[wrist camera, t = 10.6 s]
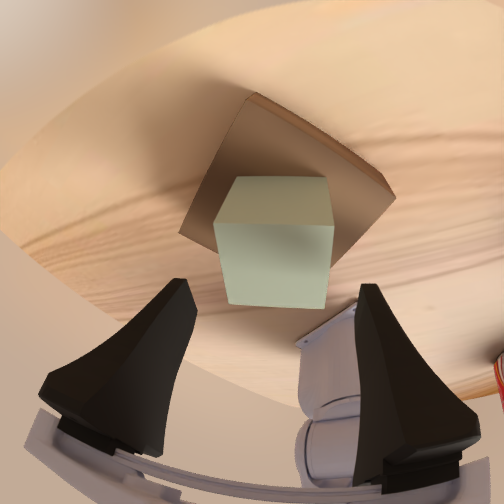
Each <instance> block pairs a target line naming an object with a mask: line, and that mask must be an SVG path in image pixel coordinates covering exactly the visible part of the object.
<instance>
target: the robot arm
mask: <svg viewBox="0 0 504 504" xmlns="http://www.w3.org/2000/svg"><path fill="white" fill-rule="evenodd" d="M354 308H356V309H354ZM197 311H198V310H197V308H196V305H195V302H194V299H193V296H192V293H191V291H190V288H189V285H188V282H187V279H180V278H174V279H172V280H171V281H170V282H169V283H168V284H167V285H166V286H165V287H164V288H163V289H162V290H161V291H160V292H159V293H158V294H157V295H156V296H155V297H154V298H153V299H152V300H151V301H150V302H149V303H148V304H147V305H146V306H145V307H144V308H143V309H142V310H141V311H140V312H139V313H138V314H137V315H136V316H135V317H134V318H133V319H131V320H130V321H129V322H128V323H127V324H126V325H125V326H124V327H123V328H121V329H120V330H119V331H118V332H117V333H115V334H114V335H113V336H112V337H110V338H109V339H108V340H106V341H105V342H104V343H102V344H101V345H99V346H98V347H96V348H95V349H93V350H92V351H90V352H89V353H87V354H85V355H84V356H82V357H80V358H79V359H77V360H75V361H73V362H71V363H69V364H67V365H65V366H63V367H61V368H59V369H56V370H54V371H52V372H50V373H49V374H48V375H47V378H46V379H45V381H44V383H43V385H42V387H41V389H40V391H39V393H38V395H39V397H40V398H41V399H42V400H43V401H44V402H46V403H47V404H48V405H49V406H51V407H52V408H53V409H55V410H56V411H57V412H59V413H60V414H61V415H62V417H61V419H59V418H57V417H55V416H54V415H52V414H50V413H49V412H47V411H45V410H44V409H42V408H40V410H39V412H38V414H37V416H36V419H35V421H34V423H33V425H32V428H31V430H30V432H29V435H28V437H27V440H26V442H25V445H24V448H25V449H26V450H27V451H29V452H30V453H31V454H32V455H34V456H35V457H36V458H37V459H39V460H40V461H41V462H42V463H44V464H45V465H46V466H47V467H49V468H50V469H51V470H52V471H54V472H55V473H56V474H57V475H58V476H60V477H61V478H62V479H64V480H65V481H66V482H67V483H69V484H70V485H71V486H73V487H74V488H75V489H77V490H78V491H80V492H81V493H83V494H84V495H85V496H87V497H88V498H90V499H91V500H93V501H94V502H96V503H98V504H195V503H191V502H187V501H184V500H180V496H181V493H182V492H181V491H180V490H177V489H174V488H170V487H167V486H164V485H161V484H158V483H155V482H152V481H149V480H147V479H145V477H144V474H143V473H145V474H148V475H151V476H154V477H156V478H160V479H163V480H166V481H169V482H172V483H176V484H179V485H183V486H187V487H190V488H194V489H199V490H203V491H207V492H212V493H217V494H222V495H228V496H233V497H239V498H246V499H253V500H262V501H271V502H283V503H305V504H490V465H489V457H485V458H482V459H479V460H477V461H473V462H470V463H468V464H465V465H462V466H459V460H461V459H462V451H463V450H465V449H466V448H468V447H470V446H472V445H473V444H475V443H476V442H477V441H479V440H480V438H481V432H480V424H479V420H478V416H477V414H476V413H475V412H474V411H473V410H471V409H470V408H469V407H468V406H467V405H466V404H464V403H463V402H462V401H461V400H460V399H459V398H458V397H457V396H456V395H455V394H454V393H453V392H452V391H451V390H450V389H449V388H448V387H447V386H446V385H445V384H444V383H443V382H442V380H441V379H440V378H439V377H438V376H437V375H436V374H435V373H434V372H433V370H432V369H431V368H430V367H429V365H428V364H427V363H426V362H425V360H424V359H423V358H422V356H421V355H420V354H419V352H418V351H417V350H416V348H415V347H414V345H413V344H412V342H411V341H410V339H409V338H408V337H407V335H406V333H405V332H404V330H403V329H402V327H401V326H400V324H399V322H398V321H397V319H396V317H395V316H394V314H393V312H392V311H391V309H390V307H389V305H388V304H387V302H386V300H385V298H384V296H383V295H382V293H381V291H380V289H379V287H378V285H377V284H361V287H360V292H359V297H358V301H357V302H355V303H354V304H352V305H351V306H349V307H348V308H347V309H345V310H344V311H342V312H341V313H339V314H338V315H336V316H335V317H333V318H332V319H330V320H329V321H327V322H326V323H324V324H323V325H321V326H320V327H318V328H317V329H315V330H314V331H312V332H311V333H309V334H307V335H306V336H304V337H303V338H301V339H299V340H298V341H296V346H297V347H298V348H300V349H301V359H300V372H299V384H298V400H299V404H300V406H301V409H302V411H303V412H304V413H305V415H306V416H307V417H308V418H310V419H308V420H307V421H306V422H305V423H304V424H303V426H302V427H301V428H300V430H299V432H298V434H297V438H296V443H295V462H296V467H297V469H298V472H299V474H300V478H301V484H302V488H294V487H278V486H267V485H258V484H250V483H242V482H236V481H230V480H224V479H219V478H214V477H209V476H205V475H200V474H196V473H192V472H188V471H184V470H180V469H176V468H173V467H169V466H166V465H163V464H159V463H156V462H153V461H150V460H147V459H144V458H141V457H138V456H136V455H134V453H138V454H140V455H142V454H146V455H149V456H152V457H155V458H157V457H159V456H161V455H163V447H164V436H165V428H166V421H167V414H168V410H169V405H170V399H171V395H172V391H173V386H174V382H175V379H176V376H177V372H178V370H179V367H180V364H181V362H182V359H183V356H184V354H185V351H186V348H187V346H188V343H189V340H190V338H191V335H192V332H193V329H194V325H195V320H196V316H197Z"/></svg>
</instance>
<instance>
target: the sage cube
mask: <svg viewBox="0 0 504 504" xmlns="http://www.w3.org/2000/svg"><path fill="white" fill-rule="evenodd" d="M213 226H214V231H215V237H216V242H217V247H218V253H219V258H220V263H221V268H222V273H223V278H224V283H225V288H226V293H227V298H228V303H229V304H235V305H249V306H266V307H284V308H307V309H324V308H325V301H326V294H327V287H328V279H329V272H330V264H331V255H332V246H333V236H334V219H333V213H332V207H331V201H330V195H329V189H328V184H327V178H326V177H304V176H238V177H236V179H235V181H234V183H233V185H232V187H231V189H230V191H229V193H228V195H227V197H226V199H225V201H224V203H223V205H222V207H221V209H220V211H219V213H218V215H217V217H216V219H215V221H214V223H213Z"/></svg>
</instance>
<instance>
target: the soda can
mask: <svg viewBox="0 0 504 504" xmlns="http://www.w3.org/2000/svg"><path fill="white" fill-rule="evenodd" d="M494 372H495V377H496V381H497V385H498V389H499V394H500V398H501V402H502V407H503V411H504V352H503V353H502V354H501V355H500V356H499V357H498V358H497V361H496V362H495V364H494Z"/></svg>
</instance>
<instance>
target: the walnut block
mask: <svg viewBox="0 0 504 504" xmlns="http://www.w3.org/2000/svg"><path fill="white" fill-rule="evenodd" d="M238 176H304V177H326V178H327V184H328V189H329V195H330V201H331V207H332V213H333V219H334V236H333V246H332V255H331V264H330V268H331V267H332V266H333V265H334V264H335V263H336V262H337V261H338V260H339V259H340V258H341V257H342V256H343V255H344V254H345V253H346V252H347V251H348V250H349V249H350V248H351V247H352V246H353V245H354V244H355V243H356V242H357V241H358V240H359V239H360V238H361V236H362V235H363V234H364V233H365V232H366V231H367V230H368V229H369V228H370V227H371V226H372V225H373V224H374V223H375V222H376V220H377V219H378V218H379V217H380V216H381V215H382V214H383V213H384V212H385V211H386V209H387V208H388V207H389V206H390V205H391V204H392V203H393V202H394V201H395V199H396V197H395V195H394V193H393V191H392V190H391V188H390V186H389V184H388V183H387V181H386V179H385V178H384V176H383V174H381V173H380V172H379V171H378V170H376V169H375V168H374V167H372V166H371V165H370V164H368V163H367V162H366V161H364V160H363V159H362V158H360V157H359V156H358V155H356V154H355V153H353V152H352V151H351V150H349V149H348V148H346V147H345V146H344V145H342V144H341V143H339V142H338V141H336V140H335V139H333V138H332V137H330V136H329V135H328V134H326V133H324V132H323V131H321V130H320V129H318V128H317V127H315V126H314V125H312V124H311V123H309V122H307V121H306V120H304V119H302V118H301V117H299V116H298V115H296V114H294V113H293V112H291V111H289V110H287V109H286V108H284V107H282V106H281V105H279V104H277V103H275V102H273V101H272V100H270V99H268V98H266V97H264V96H263V95H261V94H259V93H257V92H256V93H255V94H253V95H252V96H250V97H249V98H248V99H246V101H245V103H244V104H243V106H242V108H241V110H240V111H239V113H238V115H237V117H236V118H235V120H234V122H233V124H232V126H231V128H230V129H229V131H228V133H227V135H226V137H225V139H224V140H223V142H222V144H221V146H220V148H219V150H218V152H217V154H216V156H215V158H214V160H213V162H212V164H211V165H210V167H209V169H208V171H207V173H206V175H205V177H204V179H203V181H202V183H201V186H200V188H199V190H198V192H197V194H196V196H195V198H194V200H193V202H192V204H191V206H190V209H189V211H188V213H187V215H186V217H185V219H184V221H183V224H182V226H181V228H180V230H179V234H181V235H183V236H185V237H187V238H189V239H191V240H193V241H195V242H196V243H198V244H200V245H202V246H204V247H206V248H208V249H210V250H212V251H214V252H216V253H218V247H217V242H216V237H215V231H214V226H213V223H214V221H215V219H216V217H217V215H218V213H219V211H220V209H221V207H222V205H223V203H224V201H225V199H226V197H227V195H228V193H229V191H230V189H231V187H232V185H233V183H234V181H235V179H236V177H238ZM218 254H219V253H218Z"/></svg>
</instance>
